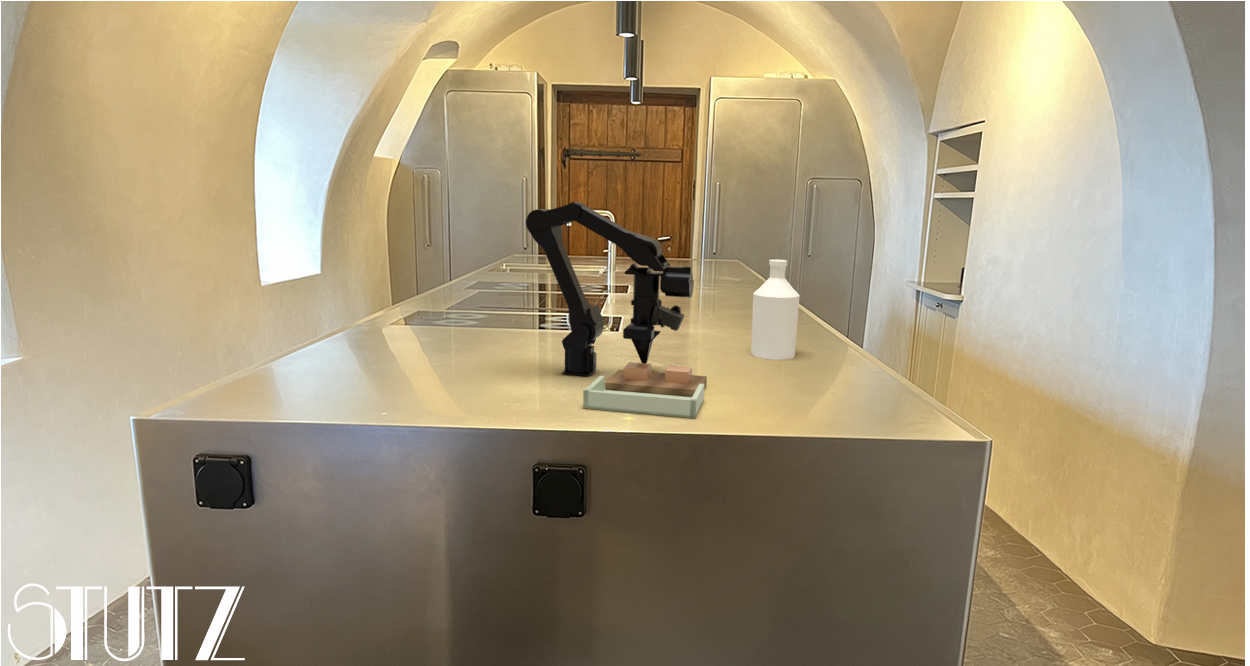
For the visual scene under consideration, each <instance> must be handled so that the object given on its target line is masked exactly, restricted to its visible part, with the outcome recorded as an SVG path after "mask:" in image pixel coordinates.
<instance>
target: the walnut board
mask: <svg viewBox="0 0 1250 666" xmlns="http://www.w3.org/2000/svg"><path fill="white" fill-rule="evenodd" d="M707 377H708V376H706V375H693V374H692V378H691V380H690V382H689V383H688V384H685V383H673V382H665V372H655V371H651V376H650V377H649V378H648V379H647V380H636V379H624V369H618V370H617V371H616V372H615V373H614V374H613V375H611V376H610V377H609V378H608V379H607V381H606V380H605V390H613V391H624V392H636V393H648V394H660V395H671V396H683V397H692V396H693V395H694V393H695V391H696V389H697V387H698V385H699V384H704V390H705V389H706V387H707V383H708V382H707V379H708V378H707Z"/></svg>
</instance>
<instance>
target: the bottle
mask: <svg viewBox="0 0 1250 666" xmlns="http://www.w3.org/2000/svg"><path fill="white" fill-rule="evenodd" d="M768 264H769V277H768V278H767V280H766V281H764V282H763V284H762V285H760V287H759V288H758V289H756V290H755V291H754V292H753V293H752V316H751V317H752V318H751V319H752V320H751V340H750V341H751V342H750V344H751V346H750V348H751V349H750V355H751V356H753V357H756V358H759V359H765V360H774V361H777V360H778V361H779V360H780V361H784V360H791V359H793V358H795V356H796V355H795V353H796V342H797V333H798V332H797V330H798V321H799V320H798V319H799V307H800V296H801V295H800V294H799V293H798V291H796V290H795V289H794V288H793V287H792V285H791V284H790V283H789V281H788V280H787V279H786V269H787V268H786V267H787V266H788V260H787V259H769V263H768Z"/></svg>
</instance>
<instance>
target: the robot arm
mask: <svg viewBox="0 0 1250 666" xmlns="http://www.w3.org/2000/svg"><path fill="white" fill-rule="evenodd" d="M573 222H576V223H577V224H580V225H581V226H584V227H585V228H587V229H588V230H590V231H592V232H594V233H595V234H597V235H598V236H600V237H601V238H603V239H605V240H607V241H609V242H611V243H612V244H614V245H616V246H617V247H619V249H620V250H621V251H622V252H623V253H625V255H626V256H627V257H629V258H630V259H631V260H632V261H633V262H634V263H631V264H630V266H629V267H628V269H626V270H625V271H624V274H625V275H628V276H633V290H632V291H633V293H632V294H633V295H632V300H630V303H631V304H630V305H631V306H632V317H631V318H630V323H629V324H628V325H627V326H626V327H625V328H623V330H622V332H623V333H622V338H623V339H624V340H631V341H632V343H633V345H634V348H635V351H636V352H637V355H638V358H639V359H640V363H647V364H648V361H649V356H650V352H651V348H652V346H653V342H654V339H656V338H657V337H658V335H659V334H661V331H660V330H655V327H656V326H660V327H661V328H665V327H668V328H669V329H670V330H672V331H679V329H680V327H681V325H682V322H683V320H684V317H685V315H684V313H682V307H681V306H679V305H676V304H674V305H673V306H671V308H670V307H666V306H663V303H662V302H663V301H662V299H661V298H660V292H662V294H663V293H664V295H665V297H669V298H670V297H672V298H673V297H675V298H692V297H693V293H694V287H695V280H694V277H693V276H694V274H693V267H692V266H691V265H689V266H688V265H686V266H673V265H671V264H670V262H669V261H668V259H667V258H666V256H665V254H663V248H662V243H660V241H659V240H657V239H656V238H653V237H650V236H648V235H645V234H642V233H638V232H635V231H631V230H629V229H627V228H625V227H623V226H621V225H619V224H618V223H616V222H615V221H612V220H611V219H609V218H608V217H606V216H604V215H602V214H600V213H599V212H597V211H595V210H593V209H592V208H590V207H588V206H587V205H586V204H585V203H583V202H581V201H574V202H573V201H572V202H570V203H568V204H565V205H562V206H559V207H555V208H552V209H548V208H540V209H534V210H532V211H530V212H529V213H528V214H527V217H526V219H525V227H526V229H527V231H528V232H529V234H530V235H531V237H532V239H533V240H534V241H535V242H536V243H537V245H538V246H539V247H540V248H541V249H542V251H543V252H544V254H545V256H546V258H547V259H546V260H547V261H548V263H549V266H550V268H551V270H552V272H553V274H554V277H555V279H556V282H557V284H558V286H559V290H560V291H561V294H562V296H563V298H564V301H565V304H566V306H567V309H568V322H569V327H570V330H571V331H570V332H569V333H568V334H567V335H566V336H565V337H564V338H563V339H562V340H561V344H562V346H563V349H564V370H563V371H562V375H569V376H570V375H572V376H584V377H589V376H591V375H592V374H593V373H594V372H596V371H597V352H595V345H594V344H595V343H596V341H597V338H599V337H600V336H601V335H602V334H603V332H604V328H605V326H604V321H606V319H605V318H604V317H603V315H602V314H601V313H602V312H601V311H600V307H599V304H594V305H593V306H592V305H591V303H590V302H589V301H588V300H587V298H586V295H585V294H584V292H583V288H582V287H581V284H580V282H579V279H578V277H577V274H576V271H575V269H574V268H573V265H572V263H571V260H570V258H569V256H568V253H567V251H566V249H565V246H564V242H563V229H562V226H565V225H567V224H569V223H573ZM638 265H640V266H638ZM646 266H647V267H646Z"/></svg>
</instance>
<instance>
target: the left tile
mask: <svg viewBox="0 0 1250 666" xmlns="http://www.w3.org/2000/svg"><path fill="white" fill-rule="evenodd" d="M623 370H624V379H636V380H647V379H648V378H649V377H650V376H651V372H652V363H648V362H647V363H642V362H633V361H632V362H631V361H630V362H628V363H627V364H626V365H625V366H624V367H623Z"/></svg>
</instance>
